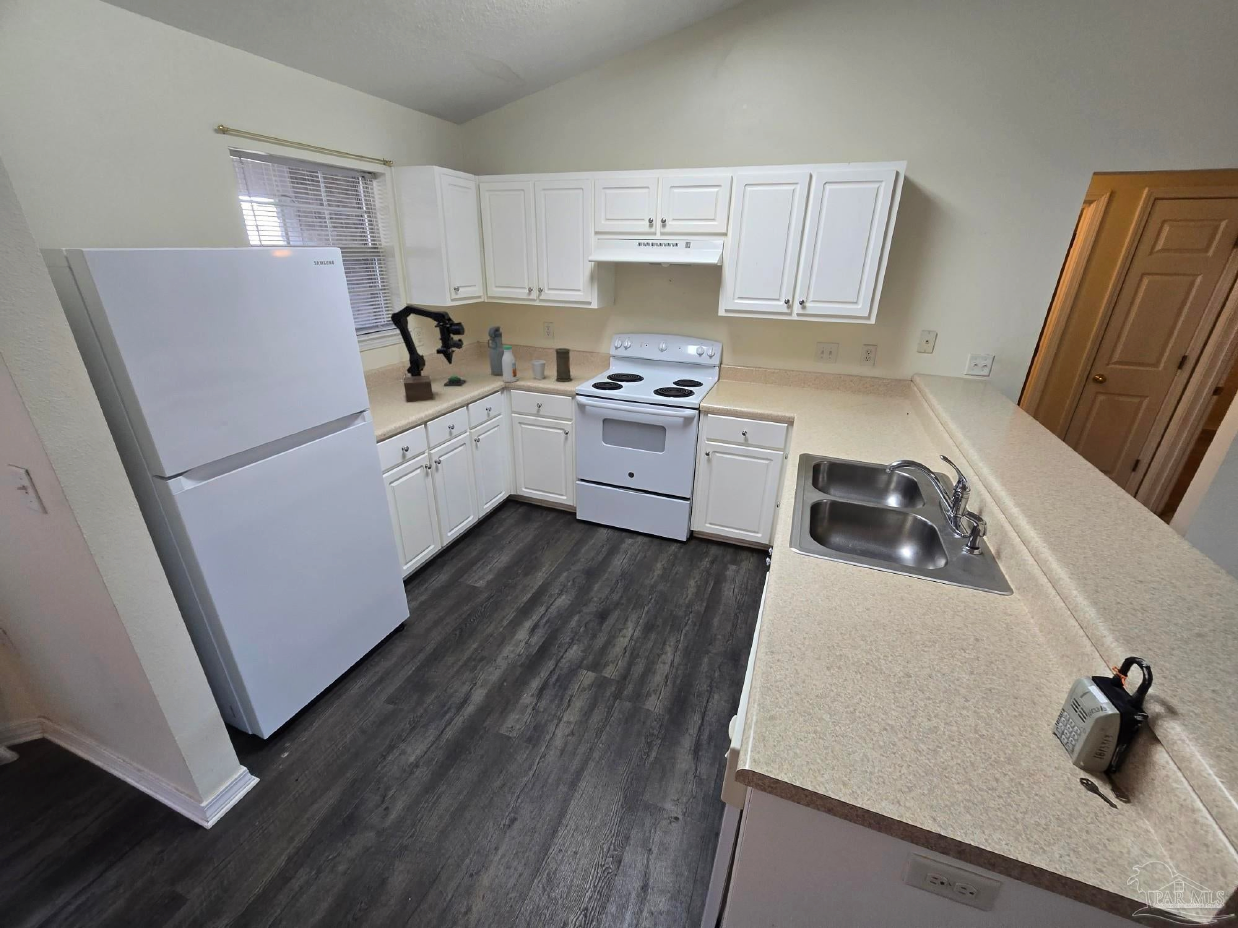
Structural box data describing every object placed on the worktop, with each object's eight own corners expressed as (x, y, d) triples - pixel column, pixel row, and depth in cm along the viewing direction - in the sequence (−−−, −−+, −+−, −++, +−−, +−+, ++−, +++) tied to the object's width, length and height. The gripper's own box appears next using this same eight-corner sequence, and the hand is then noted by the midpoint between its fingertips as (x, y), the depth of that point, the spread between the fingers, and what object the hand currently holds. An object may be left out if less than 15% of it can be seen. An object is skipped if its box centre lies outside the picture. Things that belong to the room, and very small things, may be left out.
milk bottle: (509, 383, 291) (506, 348, 284) (500, 381, 296) (497, 346, 288) (519, 380, 297) (517, 346, 289) (510, 378, 301) (508, 344, 294)
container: (559, 382, 293) (558, 351, 286) (553, 379, 300) (552, 348, 293) (573, 381, 297) (572, 350, 290) (568, 377, 304) (566, 347, 297)
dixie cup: (549, 378, 304) (548, 361, 300) (538, 380, 298) (537, 363, 294) (539, 375, 309) (539, 359, 305) (529, 378, 303) (528, 361, 299)
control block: (449, 381, 295) (449, 376, 293) (465, 381, 295) (464, 376, 294) (444, 386, 284) (443, 380, 283) (460, 386, 285) (459, 381, 283)
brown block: (406, 395, 266) (403, 377, 263) (431, 393, 271) (429, 375, 267) (406, 402, 255) (403, 383, 251) (433, 399, 259) (430, 381, 255)
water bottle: (501, 376, 307) (497, 328, 296) (487, 374, 310) (483, 327, 299) (510, 372, 316) (507, 326, 305) (497, 371, 319) (493, 325, 308)
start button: (452, 378, 290) (451, 375, 290) (458, 378, 290) (458, 375, 290) (450, 380, 287) (450, 377, 286) (456, 380, 287) (456, 377, 286)
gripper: (453, 337, 269) (458, 367, 275) (465, 332, 286) (470, 360, 292) (433, 338, 269) (438, 367, 275) (446, 333, 287) (451, 361, 293)
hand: (450, 364), depth 284 cm, fingers closed
